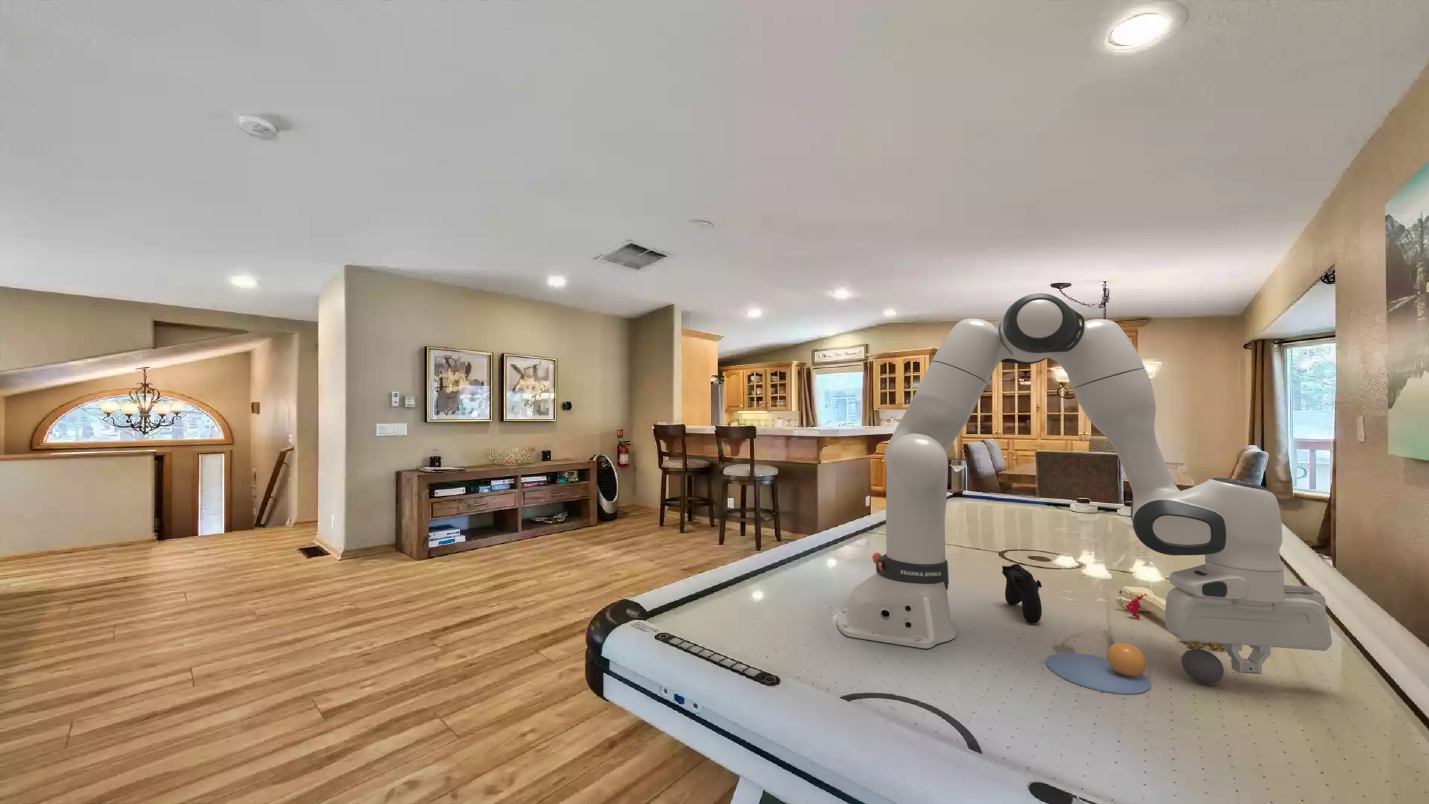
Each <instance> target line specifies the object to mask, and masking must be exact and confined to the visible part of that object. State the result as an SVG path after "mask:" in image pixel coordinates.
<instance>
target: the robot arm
mask: <svg viewBox="0 0 1429 804" xmlns="http://www.w3.org/2000/svg"><path fill="white" fill-rule="evenodd" d="M1085 320H1086V319H1085V318H1084V316H1083V315H1082V314H1080V313H1079V312H1078V311H1076V310H1075V309H1073V308H1072V307H1071V306H1069V305H1068V304H1067V303H1066V302H1064V300H1062V299H1060V298H1059V297H1057V296H1054V295H1052V294H1049V293H1043V292H1042V293H1041V292H1040V293H1039V292H1037V293H1031V294H1028V295H1024V296H1023V297H1021V298H1019V299H1017V300H1016V301H1015V302H1013V303H1012V304H1011V305H1010V306H1009V307H1008V309H1007V310H1006V312H1005V314H1004V316H1003V317H1002V318H1001V319H1000V320H997V321H987V320H984V319H980V318H966V319H962V320H960V321H958V322H957V323H956V324H954V326H953V327H952V328H951V330H950V331H949V333H948V334H947V335H946V337H945V338H944V339H943V341H942V342H941V344H940V346H939V347H938V349H937V351H936V352H935V354H934V356H933V358H932V360H931V362H930V364H929V366H928V367H927V370H926V372H925V374H924V376H923V377H922V380H921V381H920V384H919V386H918V387H917V388H916V389H917V390H916V392H915V393H914V395H913V397H912V399H911V401H910V403H909V404H908V407H907V408H906V410H905V412H904V414H903V416H902V417H901V419H900V421H899V423H898V425H897V427H896V429H895V431H894V432H893V434H892V436H891V437H890V440H889V442H888V444H887V446H886V448H885V450H884V464H885V471H886V474H885V475H886V484H885V485H886V492H885V494H886V496H885V498H886V503H885V506H886V507H885V536H886V537H885V544H886V545H885V546H886V549H885V550H886V551H885V552H886V553H885V554H883V555H881V553H879V552H874V553H873V555H872V557H871V558H872V561H873V563H874V564H875V571H876V573H874V574H873V575H872V576H870V577H868V578H867V579H865V580H864V581H862V582H860V583H859V584H857V585H856V586H854V588H853V589H852V590H851V593H850V594H849V598H848V603H847V607H845V608H842V609H841V610H840V611H839V612H838V613H837V615H836V616H837V617H836V626H837V628H838V629H839V630H838V631H840V633H842V634H843V635H845V636H846V637H850V638H855V639H862V640H869V641H872V642H873V641H874V642H881V643H887V644H893V645H900V646H906V647H912V648H913V647H914V648H918V649H919V648H920V649H930V648H933V647H935V646H936V645H938V644H942V643H946V642H949V641H952V640H953V639H954V638H955V637H956V634H957V633H956V629H955V626H954V623H953V619H952V615H951V610H950V605H949V597H948V589H949V583H950V577H949V576H950V569H949V563H948V560H947V559H946V523H945V522H946V510H947V500H948V499H947V496H948V478H949V475H948V474H949V473H948V472H949V470H948V469H949V461H948V455H947V453H948V452H949V450H950V448H951V446H952V445H953V444H954V442H955V440H956V439H957V437H958V436H959V434H960V433H961V431H962V429H963V428H964V426H965V425H966V424H967V423H968V421H969V419H970V417H971V416H972V414H973V412H974V410H975V408H976V406H977V404H978V402H979V400H980V398H981V396H982V394H983V392H984V391H985V389H986V387H987V385H988V383H989V381H990V379H991V376H992V375H993V374H994V371H995V370H996V368H997V366H999V364H1000V363H1008V364H1017V365H1033V364H1037V363H1041V362H1043V361H1046V360H1047V359H1048V358H1049V359H1050V360H1053V361H1054V362H1056V363H1057V364H1058V365H1060V366H1061V368H1062V369H1063V370H1064V372H1065V373H1066V375H1067V378H1068V381H1069V383H1070V386H1071V389H1072V391H1073V393H1074V396H1075V398H1076V400H1077V402H1078V405H1079V406H1080V408H1081V409H1082V411H1083V412H1084V414H1085V416H1086V417H1087V419H1088V420H1089V422H1090V423H1091V424H1092V426H1094V427H1095V429H1097V430H1098V431H1099V432H1100V433H1101V434H1102V435H1103V436H1104V437H1105V438H1106V439H1107V440H1108V442H1109V443H1110V444H1111V446H1112V447H1113V449H1114V451H1115V452H1116V456H1117V457H1118V459H1119V461H1120V464H1121V466H1122V469H1123V472H1124V474H1125V476H1126V478H1127V481H1128V483H1129V487H1130V489H1131V493H1132V494H1131V495H1132V499H1131V505H1130V520H1131V522H1132V527H1133V530H1134V531H1133V532H1134V533H1135V536H1136V537H1137V539H1138V540H1139V541H1140V542H1141V543H1142V544H1143V545H1144V546H1146V548H1149V549H1150V550H1152V551H1153V552H1156V553H1158V554H1163V555H1167V556H1203V555H1204V564H1200V565H1197V566H1193V567H1191V568H1186V569H1181V570H1176V571H1173V572H1170V574H1169V576H1168V578H1169V583H1170V584H1171V585H1173V586H1174V587H1173V588H1171V589H1170V590H1169V591H1168V593H1167V595H1166V599H1165V601H1166V606H1165V620H1164V624H1165V627H1166V629H1167V631H1168V632H1169V633H1170V634H1172V635H1173V636H1175V637H1177V638H1178V639H1180V640H1182V641H1183V640H1185V641H1184V642H1186V641H1197V642H1204V643H1207V642H1211V643H1222V646H1223V647H1224V649H1225V650H1224V651H1225V652H1226V653H1227V655H1228V656H1229V657H1230V661H1231V669H1232V670H1233V671H1235V672H1237V673H1239V674H1253V675H1262V673H1263V670H1262V669H1263V665H1262V664H1264V663H1265V662H1266V660H1267V659H1268V658H1269V657H1270V655H1271V648H1281V649H1292V650H1293V649H1294V650H1307V651H1319V652H1322V651H1323V652H1325V651H1327V650H1329V648H1330V647H1331V646H1332V645H1333V639H1332V633H1331V631H1332V630H1331V626H1330V621H1329V619H1328V618H1329V617H1328V615H1327V613H1326V610H1327V607H1326V603H1327V602H1326V598H1325V596H1324V594H1322V593H1321V592H1320V591H1319V590H1316V589H1315V588H1314V587H1312V586H1308V585H1299V586H1298V585H1291V584H1285V574H1284V573H1285V572H1284V571H1285V569H1284V564H1283V562H1282V561H1281V556H1280V550H1281V549H1280V548H1281V546H1282V544H1283V540H1284V539H1283V525H1282V516H1281V515H1282V514H1281V510H1280V505H1279V502H1278V499H1277V497H1276V495H1275V494H1274V493H1273V492H1271V490H1269V489H1268V488H1267V487H1264V486H1263V485H1260V484H1256V483H1253V482H1249V481H1245V480H1239V479H1233V478H1226V477H1211V478H1209V479H1208V480H1206V481H1205V482H1202V483H1200V484H1198V485H1196V486H1192V487H1189V488H1186V489H1184V490H1181V489H1180V488H1179V487H1178V485H1177V484H1176V483H1175V480H1174V479H1173V478H1172V476H1171V472H1170V471H1169V468H1168V466H1167V463H1166V461H1165V459H1164V457H1163V454H1162V451H1161V450H1160V447H1159V444H1158V441H1157V437H1156V433H1155V419H1156V418H1155V417H1156V413H1157V411H1156V410H1157V405H1156V399H1155V394H1154V388H1153V386H1152V382H1151V379H1150V375H1149V374H1148V371H1147V370H1146V367H1145V365H1144V363H1143V360H1142V359H1141V357H1140V355H1139V352H1138V351H1137V349H1136V347H1135V345H1134V344H1133V343H1132V341H1131V339H1130V338H1129V337H1128V335H1127V334H1126V333H1125V332H1124V329H1122V327H1121V326H1120V325H1119V324H1118V323H1117V322H1115V321H1114V320H1111V319H1105V318H1094V319H1090V320H1086V321H1085ZM1243 646H1249V647H1250V648H1251V649H1252V651H1251V652H1250V654H1249V656H1248V657H1247V658H1245V657H1242V656H1241V654H1240V652H1242V651H1243Z"/></svg>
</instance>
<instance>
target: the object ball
mask: <svg viewBox="0 0 1429 804" xmlns="http://www.w3.org/2000/svg"><path fill="white" fill-rule="evenodd" d="M1106 657H1107V658H1106V659H1108V662H1109V664H1110V665H1111V667H1112V668H1113V669H1114V670H1115V671H1116V672H1118V673H1119V674H1121V675H1124V676H1128V677H1135V676H1138V675H1140V674H1143V672H1145V669H1146V667H1147V663H1146V659H1145V656H1144V654H1143V653H1142V652H1141V651H1140V650H1139V648H1137V647H1136V646H1134V645H1132V644H1129V643H1125V642H1116V643H1113V644H1112V645H1111V646H1110V647H1109V648H1108V650H1107V653H1106Z"/></svg>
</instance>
